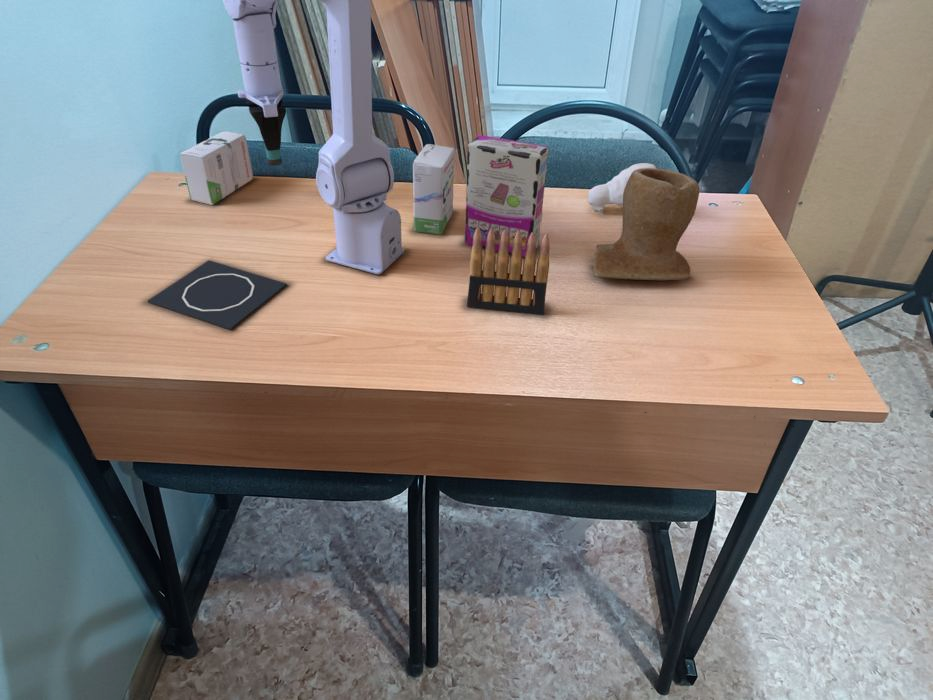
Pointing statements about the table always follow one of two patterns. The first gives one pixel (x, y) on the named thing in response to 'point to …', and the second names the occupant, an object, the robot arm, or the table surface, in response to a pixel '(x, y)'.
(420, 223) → the ink box
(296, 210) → the table surface
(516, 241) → the ammunition clip
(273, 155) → the marker
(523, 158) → the candy bar box
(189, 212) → the table surface
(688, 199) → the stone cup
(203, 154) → the ink box
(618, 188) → the white rounded piece
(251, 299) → the mat
